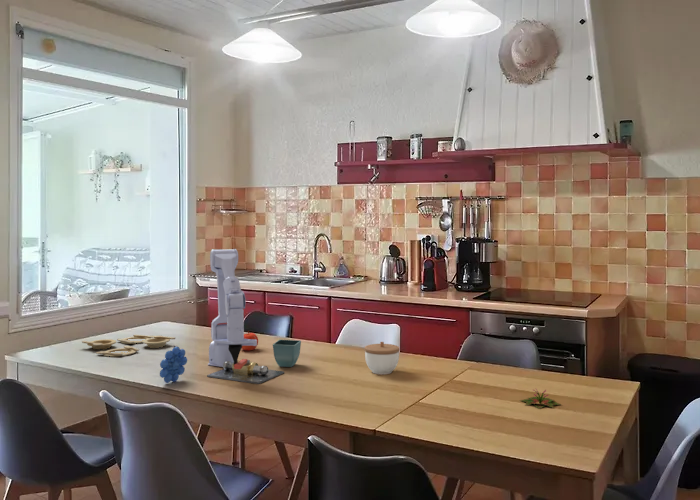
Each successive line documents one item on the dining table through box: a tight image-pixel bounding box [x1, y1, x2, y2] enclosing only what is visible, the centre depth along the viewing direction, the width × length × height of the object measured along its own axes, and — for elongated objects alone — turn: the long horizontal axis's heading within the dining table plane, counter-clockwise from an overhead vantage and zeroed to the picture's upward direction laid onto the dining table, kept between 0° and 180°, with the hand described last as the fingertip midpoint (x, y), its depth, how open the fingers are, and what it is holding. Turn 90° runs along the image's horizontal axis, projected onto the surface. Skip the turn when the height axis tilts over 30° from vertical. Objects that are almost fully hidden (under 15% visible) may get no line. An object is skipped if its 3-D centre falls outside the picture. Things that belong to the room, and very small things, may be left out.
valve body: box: [206, 360, 285, 385], centre depth 223 cm, size 22×16×4 cm
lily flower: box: [519, 388, 563, 410], centre depth 190 cm, size 12×12×5 cm
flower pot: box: [272, 339, 302, 368], centre depth 236 cm, size 9×9×9 cm
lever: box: [234, 358, 251, 369], centre depth 220 cm, size 11×3×2 cm, turn 174°
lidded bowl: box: [364, 341, 400, 375], centre depth 227 cm, size 13×13×11 cm
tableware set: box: [81, 334, 176, 358], centre depth 270 cm, size 35×29×4 cm
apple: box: [241, 330, 259, 352], centre depth 264 cm, size 8×8×8 cm
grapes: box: [159, 346, 188, 384], centre depth 215 cm, size 12×7×12 cm, turn 147°
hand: (235, 366), depth 218 cm, fingers closed, pressing on lever
